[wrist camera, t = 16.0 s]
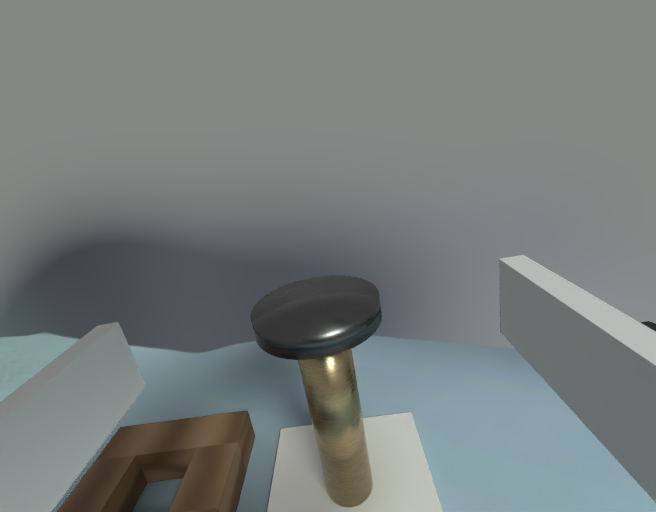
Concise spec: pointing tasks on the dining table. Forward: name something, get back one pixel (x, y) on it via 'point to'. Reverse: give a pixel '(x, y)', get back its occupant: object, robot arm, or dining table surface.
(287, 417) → the dining table surface
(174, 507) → the eye block
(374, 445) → the pad
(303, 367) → the mushroom top post
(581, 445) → the dining table surface
